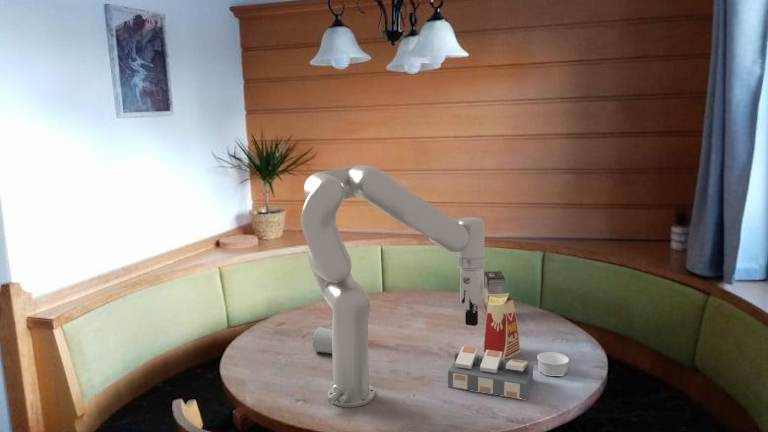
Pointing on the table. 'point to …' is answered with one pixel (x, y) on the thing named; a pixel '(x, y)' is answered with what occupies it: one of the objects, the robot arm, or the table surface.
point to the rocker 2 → (516, 364)
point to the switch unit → (492, 379)
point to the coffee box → (493, 286)
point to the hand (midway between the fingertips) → (471, 324)
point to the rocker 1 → (466, 357)
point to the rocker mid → (491, 361)
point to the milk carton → (501, 326)
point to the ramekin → (552, 363)
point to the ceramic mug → (322, 340)
